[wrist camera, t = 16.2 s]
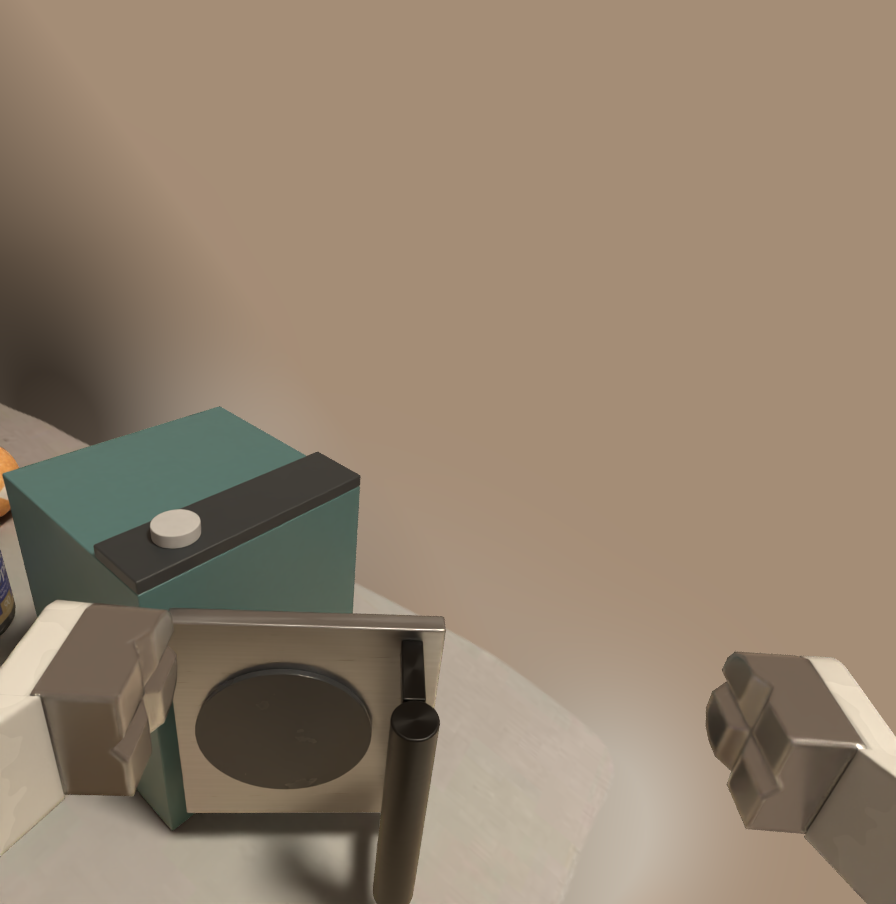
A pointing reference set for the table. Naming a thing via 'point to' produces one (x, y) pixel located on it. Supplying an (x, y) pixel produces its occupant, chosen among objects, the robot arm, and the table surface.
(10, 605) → the pill bottle
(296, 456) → the washer
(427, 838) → the table surface
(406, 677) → the washer door
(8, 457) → the orange twig figurine
